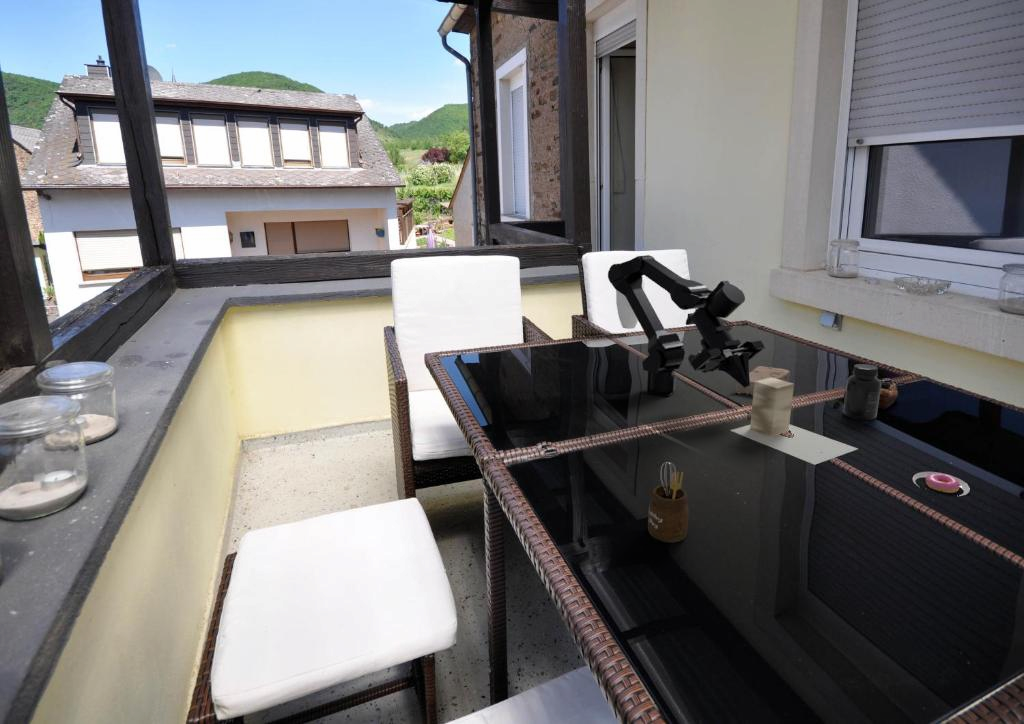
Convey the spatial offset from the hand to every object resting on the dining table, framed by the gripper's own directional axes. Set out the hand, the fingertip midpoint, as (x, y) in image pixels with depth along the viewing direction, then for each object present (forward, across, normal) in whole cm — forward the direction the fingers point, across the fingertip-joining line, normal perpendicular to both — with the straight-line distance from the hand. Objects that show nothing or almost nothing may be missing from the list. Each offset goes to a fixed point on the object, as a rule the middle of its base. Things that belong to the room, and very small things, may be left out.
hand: (747, 386), depth 131 cm
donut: (+33, -6, +20) cm, 39 cm away
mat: (+15, 0, +2) cm, 15 cm away
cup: (-52, -38, -64) cm, 91 cm away
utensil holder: (+24, +47, +10) cm, 54 cm away
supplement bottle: (+14, -27, +2) cm, 30 cm away
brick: (-3, -24, -16) cm, 29 cm away
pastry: (+10, -40, -2) cm, 41 cm away
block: (+10, 0, -1) cm, 11 cm away
